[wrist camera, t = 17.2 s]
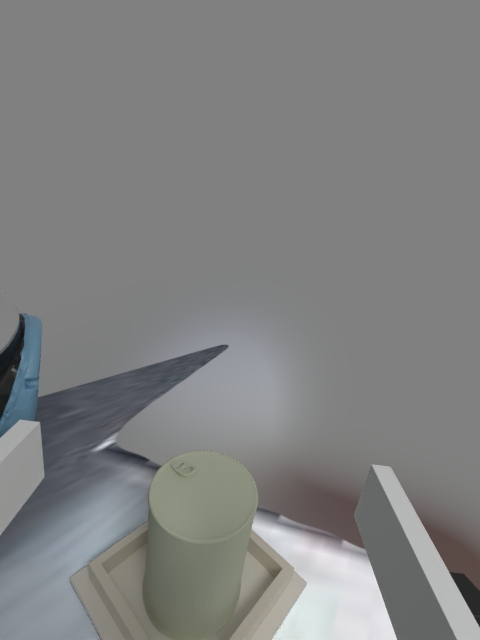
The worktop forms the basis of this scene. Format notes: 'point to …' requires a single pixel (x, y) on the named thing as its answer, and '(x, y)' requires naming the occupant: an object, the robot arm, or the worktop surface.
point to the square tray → (127, 596)
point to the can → (197, 543)
